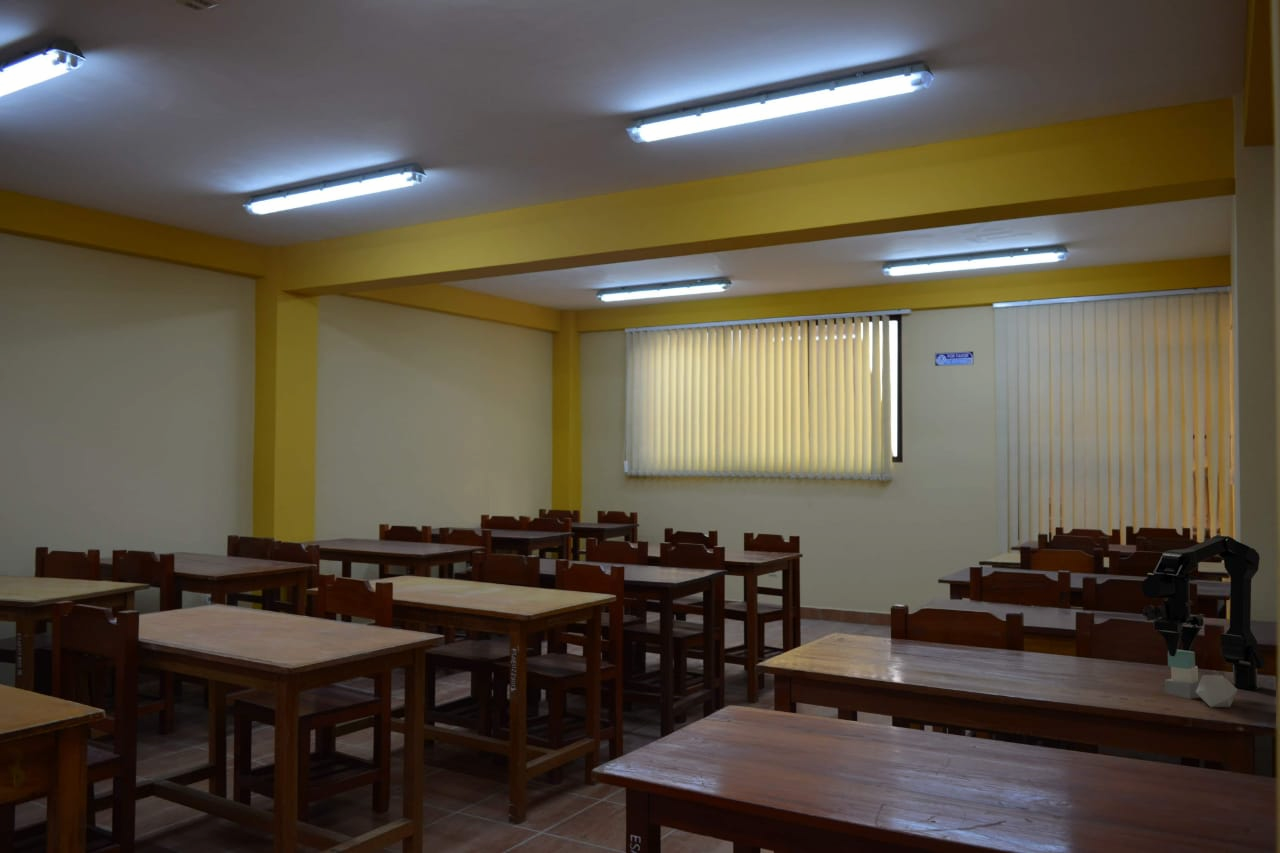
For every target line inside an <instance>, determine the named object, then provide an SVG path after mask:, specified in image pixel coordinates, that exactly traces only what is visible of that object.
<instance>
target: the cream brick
mask: <svg viewBox="0 0 1280 853" xmlns="http://www.w3.org/2000/svg"><path fill="white" fill-rule="evenodd" d="M1198 668H1199V667H1198V666H1197V665H1195V667H1192V668H1189V669H1185V668H1178V667H1171V666H1170V674H1171V675H1170V676H1171V677H1170V679H1171V681H1177V682H1183V683H1189V684H1192V683H1195V682H1197V681H1199V671H1198V670H1199V669H1198Z"/></svg>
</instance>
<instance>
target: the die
mask: <svg viewBox="0 0 1280 853" xmlns="http://www.w3.org/2000/svg"><path fill="white" fill-rule="evenodd" d="M1199 681H1200V683H1199V685H1198V687H1197V690H1196V693H1197V694H1198V695H1199V696H1200V697H1199V698H1201V699H1202V701H1203V702H1205V703H1206V705H1208V706H1209V707H1210V708H1231V705H1233V704H1232V703H1233V702H1234V699H1235V697H1236V694H1237V692H1238V689H1239V688H1237V687H1234V686H1233V685H1232V682H1230V681H1229V680H1228V679H1227V678H1226V677H1224V676H1223V675H1222V674H1203V675H1202V676H1201V678H1200V680H1199Z"/></svg>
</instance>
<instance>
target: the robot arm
mask: <svg viewBox="0 0 1280 853" xmlns="http://www.w3.org/2000/svg"><path fill="white" fill-rule="evenodd" d="M1215 556H1218V557H1219V558H1220V559H1222V560H1223V565H1224V566H1223V567H1224V568H1225V571H1226V572H1227V574H1228V575H1229V577H1230V578H1229V579H1230V585H1229V586H1230V590H1229V591H1230V594H1229V599H1230V600H1229V628H1228V629H1227V630H1226V632H1225V633H1223V632H1222V633H1221V634H1220V645H1219V648H1221V653H1222V656H1223V658H1224V662H1225V664H1232V671H1233V672H1232V673H1233V674H1232V675H1233V676H1232V677H1233V679H1232V680H1233V682H1231V684H1232V685H1233V686H1234V687H1235V688H1237V689H1239V688H1240V689H1244V690H1251V691H1257V690H1259V689H1261V688H1263V685H1261V684H1258V669H1259V670H1260V669H1264V668H1265V667H1266V663H1267V659H1266V658H1265V657H1264V656H1263V654H1262V653H1261V652H1260V651H1259V649H1258V642H1257V639H1256V637H1255V636H1254V634H1253V632H1252V630H1251V619H1252V618H1251V616H1252V615H1251V612H1252V611H1251V610H1252V609H1251V608H1252V606H1251V605H1252V579H1253V578H1254V576H1255V575H1256V573H1257V572H1258V571H1259V566H1260V565H1259V564H1260V559H1261V558H1260V553H1259V552H1257V550H1256V549H1255V548H1253V547H1250V546H1249V545H1246V544H1245V543H1243V542H1240V541H1238V540H1236V539H1235V538H1233V537H1231V536H1228V535H1214V536H1212V537H1211V538H1209V539H1206V540H1204V541H1202V542H1199V543H1197V544H1195V545H1192V546H1190V547H1187V548H1183V549H1182V548H1181V549H1169V550H1166V551H1164V552H1163V553H1162V554H1161V557H1160V559H1159V561H1158V563H1157V564H1156V567H1155V568H1154V570H1153V572H1148V573H1147V577H1146V578H1145V579H1144V580H1143V581H1142V583H1141V590H1142V593H1143V595H1144V596H1145V597H1146V598H1148V599H1150V600H1151V599H1163V601H1162V602H1161V605H1159V606H1154V605H1153V604H1147V605H1144V606H1143V609H1142V616H1143V617H1146V620H1147V622H1149V621H1153V620H1154V621H1153V622H1152V626H1153V630H1155V632H1156V633H1158V634H1160V635H1161V637H1163V639H1164V642H1165V644H1166V645H1165V646H1166V648H1167V650H1168V651H1169V654H1170V656H1175V654H1176V652H1177V650H1179V646H1180V642H1181V645H1182V650H1185V651H1191V648H1192V645H1193V644H1194V642H1195V640H1196V638H1197V636H1198V634H1199V632H1200V630H1202V627H1203V626H1204V618H1203V617H1202V616H1201V615H1199V614H1191V606H1194V605H1193V604H1194V602H1193V600H1191V596H1190V592H1191V591H1190V589H1191V588H1190V586H1191V585H1190V582H1191V581H1195V580H1196V578H1195V576H1193V575H1191V574H1192V573H1191V572H1192V571H1194V570H1195V569H1196V568H1197V567H1198V565H1199V564H1200V563H1201V562H1203V561H1206V560H1208V559H1211V558H1213V557H1215ZM1190 573H1191V574H1190ZM1168 651H1167V652H1168Z"/></svg>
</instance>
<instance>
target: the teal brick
mask: <svg viewBox="0 0 1280 853" xmlns="http://www.w3.org/2000/svg"><path fill="white" fill-rule="evenodd" d="M1195 653H1196V652H1195V651H1191V650H1189V651H1185V650H1183V649H1177V652H1176V654H1175V656H1170V654H1169V651H1167V666H1168V667H1170V668H1171V667H1178V668H1185V669H1189V668H1192V667H1195V666H1196V654H1195Z"/></svg>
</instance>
